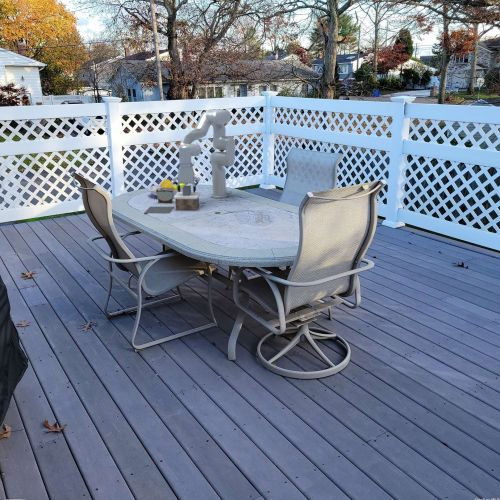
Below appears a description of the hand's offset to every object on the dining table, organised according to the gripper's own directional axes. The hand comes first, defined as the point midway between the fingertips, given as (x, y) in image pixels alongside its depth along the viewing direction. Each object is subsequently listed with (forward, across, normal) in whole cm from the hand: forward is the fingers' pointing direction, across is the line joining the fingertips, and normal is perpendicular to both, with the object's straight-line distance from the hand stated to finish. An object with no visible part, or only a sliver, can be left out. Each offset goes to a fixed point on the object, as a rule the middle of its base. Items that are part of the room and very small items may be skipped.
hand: (186, 192), depth 311 cm
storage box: (+11, 0, 0) cm, 11 cm away
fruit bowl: (+11, +20, -36) cm, 43 cm away
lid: (+3, 0, 0) cm, 3 cm away
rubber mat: (+11, +17, +7) cm, 21 cm away
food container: (+11, +17, -14) cm, 25 cm away
